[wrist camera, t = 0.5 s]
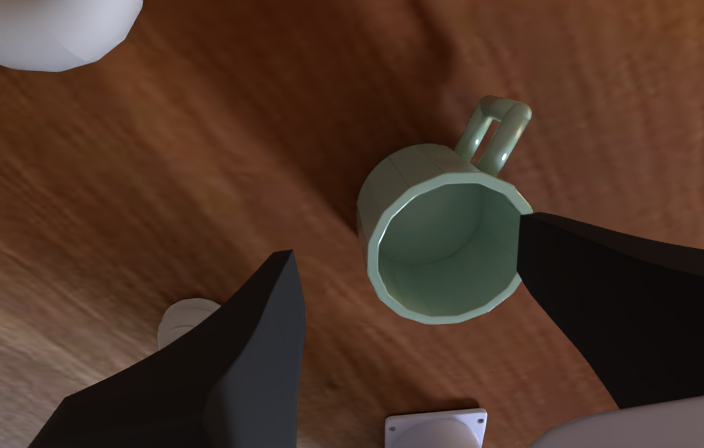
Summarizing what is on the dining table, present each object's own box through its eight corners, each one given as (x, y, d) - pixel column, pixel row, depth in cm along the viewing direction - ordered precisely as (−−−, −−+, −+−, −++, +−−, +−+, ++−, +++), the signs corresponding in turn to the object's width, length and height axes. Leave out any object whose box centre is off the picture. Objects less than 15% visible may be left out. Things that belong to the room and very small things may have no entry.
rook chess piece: (155, 336, 24) (85, 458, 17) (177, 283, 23) (110, 391, 15) (222, 357, 25) (183, 480, 18) (247, 308, 24) (216, 420, 16)
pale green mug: (447, 281, 24) (481, 340, 19) (335, 244, 22) (341, 299, 17) (542, 121, 20) (616, 143, 15) (416, 61, 18) (452, 64, 13)
